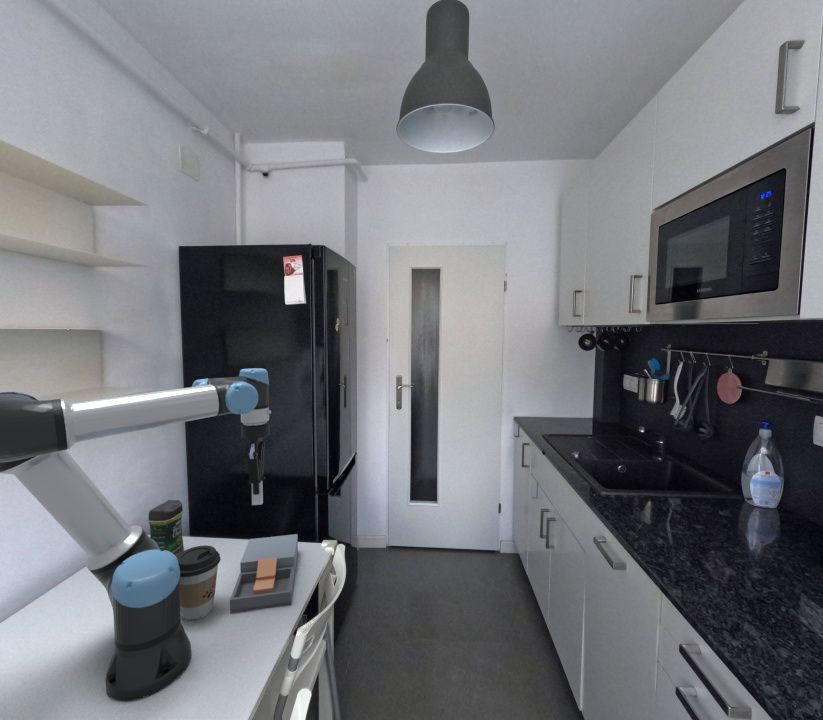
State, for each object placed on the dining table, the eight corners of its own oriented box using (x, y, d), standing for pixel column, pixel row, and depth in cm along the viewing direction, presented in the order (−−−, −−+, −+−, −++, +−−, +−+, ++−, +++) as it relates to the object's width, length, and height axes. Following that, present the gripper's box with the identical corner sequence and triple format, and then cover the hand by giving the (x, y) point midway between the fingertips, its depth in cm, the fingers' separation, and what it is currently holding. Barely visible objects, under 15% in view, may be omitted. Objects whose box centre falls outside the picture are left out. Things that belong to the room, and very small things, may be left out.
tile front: (275, 577, 111) (275, 585, 111) (256, 579, 110) (256, 588, 110) (272, 587, 106) (272, 596, 106) (253, 590, 105) (253, 599, 105)
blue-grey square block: (294, 576, 117) (294, 556, 117) (240, 583, 114) (240, 562, 113) (297, 551, 131) (297, 534, 130) (249, 557, 127) (249, 539, 127)
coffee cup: (207, 626, 96) (205, 567, 96) (161, 626, 97) (159, 566, 96) (230, 596, 108) (228, 543, 107) (189, 596, 108) (187, 542, 107)
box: (290, 604, 104) (290, 591, 104) (230, 613, 101) (229, 600, 101) (294, 578, 116) (294, 566, 116) (240, 585, 113) (239, 573, 113)
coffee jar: (169, 569, 121) (167, 510, 120) (144, 568, 121) (142, 509, 120) (188, 552, 130) (187, 497, 130) (166, 552, 131) (164, 497, 130)
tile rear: (275, 579, 112) (275, 575, 110) (257, 581, 111) (256, 577, 109) (277, 561, 116) (276, 557, 114) (259, 563, 115) (258, 559, 113)
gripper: (264, 426, 106) (266, 512, 107) (273, 417, 119) (275, 494, 120) (235, 428, 105) (237, 514, 106) (247, 418, 118) (249, 496, 119)
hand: (257, 503), depth 113 cm, fingers closed
